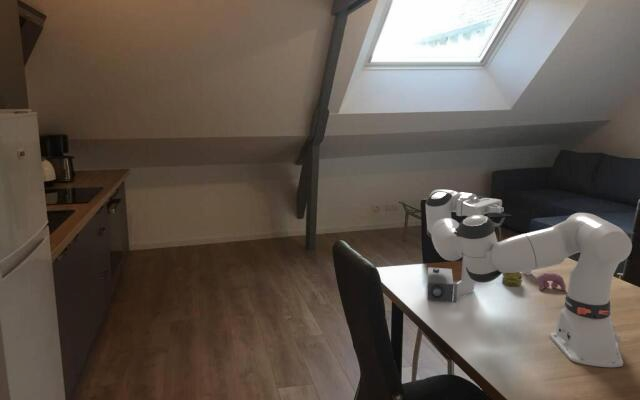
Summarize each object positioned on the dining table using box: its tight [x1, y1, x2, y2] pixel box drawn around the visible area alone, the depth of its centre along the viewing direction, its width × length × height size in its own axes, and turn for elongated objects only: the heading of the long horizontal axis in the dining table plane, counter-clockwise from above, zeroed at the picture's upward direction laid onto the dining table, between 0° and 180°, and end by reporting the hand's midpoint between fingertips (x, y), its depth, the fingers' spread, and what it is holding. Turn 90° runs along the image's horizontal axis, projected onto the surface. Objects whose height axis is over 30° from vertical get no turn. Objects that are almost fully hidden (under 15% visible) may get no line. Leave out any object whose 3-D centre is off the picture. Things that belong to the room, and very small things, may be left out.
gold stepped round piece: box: [501, 272, 524, 288], centre depth 196 cm, size 7×7×10 cm
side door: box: [452, 257, 476, 303], centre depth 183 cm, size 16×1×19 cm, turn 138°
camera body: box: [426, 266, 455, 303], centre depth 187 cm, size 18×9×8 cm, turn 168°
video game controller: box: [536, 272, 566, 292], centre depth 193 cm, size 10×5×7 cm, turn 84°
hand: (502, 210), depth 184 cm, fingers closed
